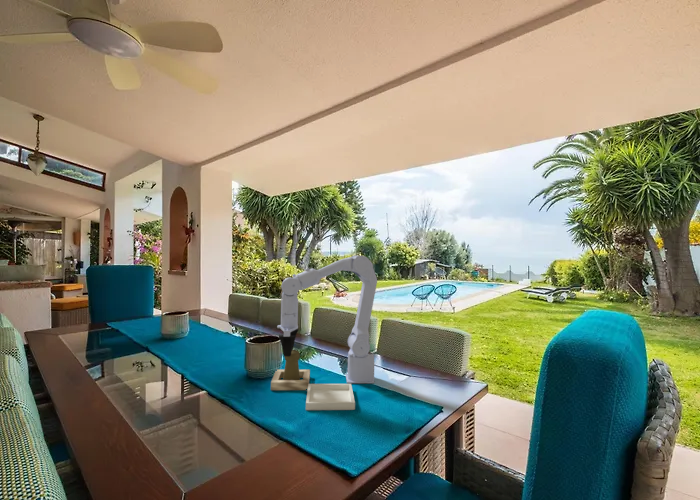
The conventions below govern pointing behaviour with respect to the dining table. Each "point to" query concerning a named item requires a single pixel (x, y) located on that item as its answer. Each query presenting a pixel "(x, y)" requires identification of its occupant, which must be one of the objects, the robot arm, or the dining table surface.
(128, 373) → the dining table surface
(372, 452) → the dining table surface
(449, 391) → the dining table surface
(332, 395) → the tray
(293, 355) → the olive tall rounded piece
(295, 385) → the frame
